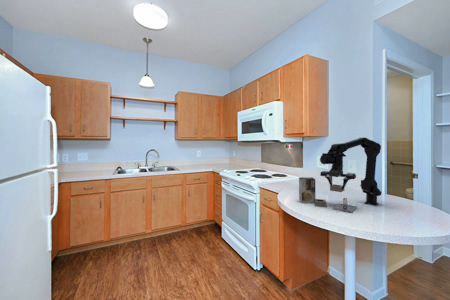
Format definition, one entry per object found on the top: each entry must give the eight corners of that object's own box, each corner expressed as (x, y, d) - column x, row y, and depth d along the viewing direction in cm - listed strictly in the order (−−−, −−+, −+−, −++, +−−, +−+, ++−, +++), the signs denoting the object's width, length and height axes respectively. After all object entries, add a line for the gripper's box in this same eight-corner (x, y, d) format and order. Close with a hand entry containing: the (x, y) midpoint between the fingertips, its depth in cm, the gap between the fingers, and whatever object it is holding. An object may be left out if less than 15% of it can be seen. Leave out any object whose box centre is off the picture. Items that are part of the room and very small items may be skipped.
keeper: (338, 204, 125) (339, 194, 124) (357, 207, 118) (357, 197, 117) (332, 209, 114) (332, 199, 114) (352, 213, 108) (352, 202, 107)
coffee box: (312, 200, 133) (312, 177, 132) (315, 203, 126) (315, 178, 126) (298, 200, 134) (298, 177, 133) (301, 202, 127) (301, 178, 127)
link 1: (314, 203, 126) (314, 198, 126) (324, 204, 124) (324, 199, 124) (315, 206, 120) (315, 201, 120) (326, 207, 118) (326, 202, 118)
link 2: (333, 188, 126) (333, 184, 126) (344, 190, 121) (344, 185, 121) (330, 190, 122) (330, 185, 121) (341, 192, 117) (341, 187, 117)
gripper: (317, 163, 122) (317, 188, 123) (351, 165, 109) (351, 193, 109) (323, 162, 130) (323, 185, 130) (356, 164, 116) (356, 190, 117)
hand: (337, 188), depth 121 cm, fingers closed on link 2, 6 cm apart
